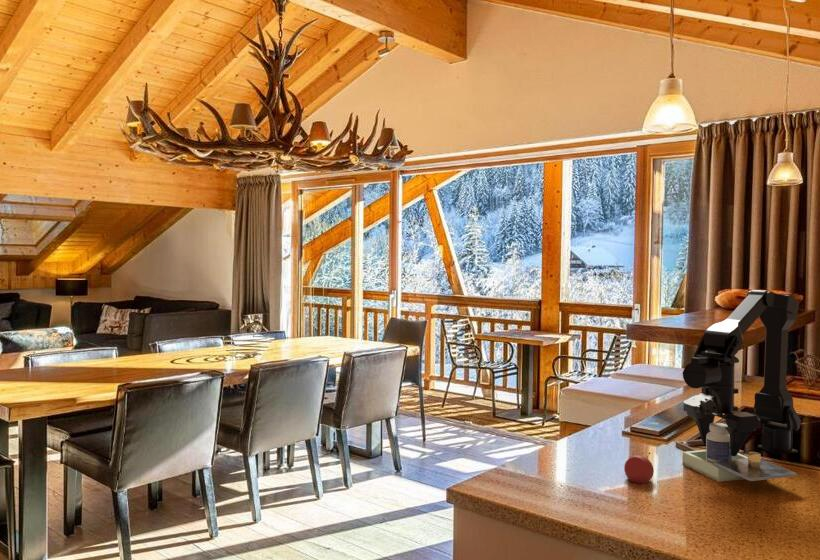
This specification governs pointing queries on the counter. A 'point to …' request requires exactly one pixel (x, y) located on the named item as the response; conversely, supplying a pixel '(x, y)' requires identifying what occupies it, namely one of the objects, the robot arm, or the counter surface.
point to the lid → (754, 468)
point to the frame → (692, 443)
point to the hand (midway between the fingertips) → (719, 449)
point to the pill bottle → (718, 443)
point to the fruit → (639, 469)
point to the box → (709, 466)
